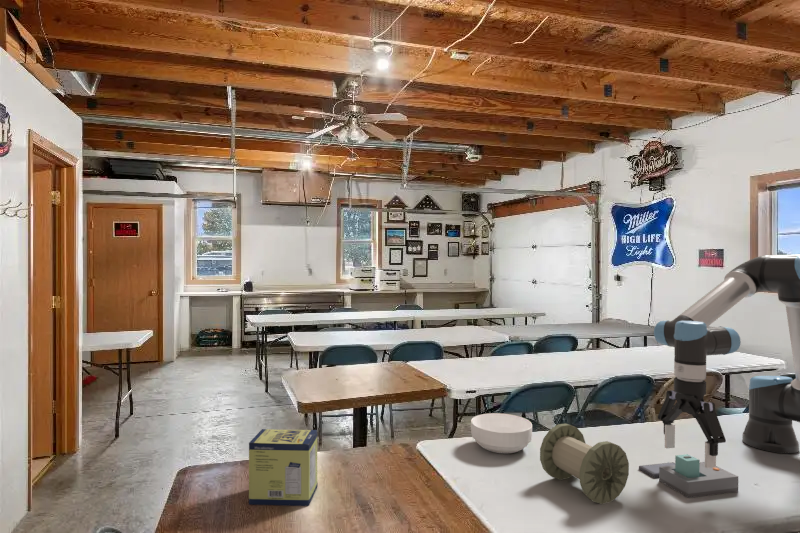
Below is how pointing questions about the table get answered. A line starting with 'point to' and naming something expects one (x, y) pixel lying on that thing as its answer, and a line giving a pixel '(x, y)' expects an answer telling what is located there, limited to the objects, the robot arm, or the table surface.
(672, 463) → the phone
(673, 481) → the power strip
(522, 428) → the bowl
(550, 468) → the spool
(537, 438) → the table surface
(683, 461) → the block
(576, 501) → the table surface
